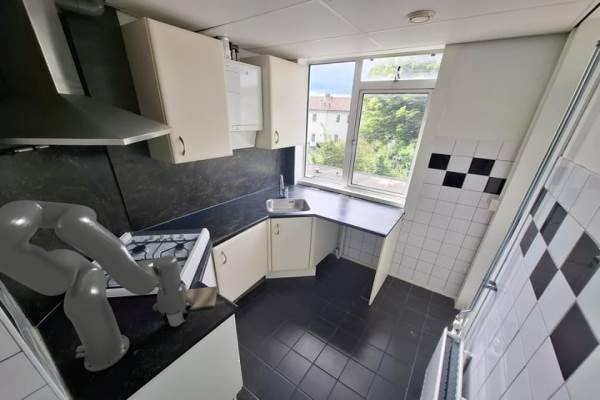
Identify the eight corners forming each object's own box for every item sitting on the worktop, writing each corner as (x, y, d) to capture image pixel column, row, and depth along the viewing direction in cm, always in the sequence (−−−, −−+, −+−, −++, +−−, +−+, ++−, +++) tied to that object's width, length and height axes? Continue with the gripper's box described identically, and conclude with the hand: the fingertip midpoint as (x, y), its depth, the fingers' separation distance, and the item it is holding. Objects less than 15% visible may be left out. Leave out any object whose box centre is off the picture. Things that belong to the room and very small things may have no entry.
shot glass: (181, 311, 99) (179, 299, 96) (189, 320, 95) (187, 307, 92) (165, 321, 94) (162, 308, 91) (172, 331, 90) (169, 318, 87)
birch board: (167, 313, 98) (166, 311, 97) (174, 293, 109) (174, 291, 108) (214, 306, 102) (214, 304, 102) (217, 287, 113) (217, 286, 113)
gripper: (141, 294, 82) (150, 329, 88) (192, 289, 86) (196, 323, 92) (149, 281, 89) (157, 314, 95) (196, 276, 93) (200, 308, 99)
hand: (176, 318), depth 94 cm, fingers closed on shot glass, 6 cm apart
